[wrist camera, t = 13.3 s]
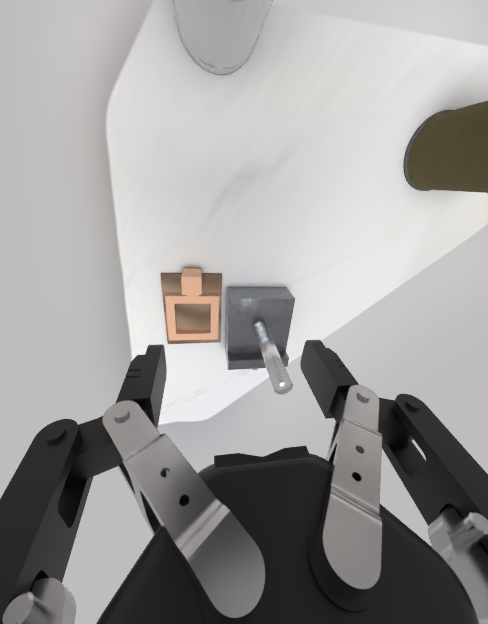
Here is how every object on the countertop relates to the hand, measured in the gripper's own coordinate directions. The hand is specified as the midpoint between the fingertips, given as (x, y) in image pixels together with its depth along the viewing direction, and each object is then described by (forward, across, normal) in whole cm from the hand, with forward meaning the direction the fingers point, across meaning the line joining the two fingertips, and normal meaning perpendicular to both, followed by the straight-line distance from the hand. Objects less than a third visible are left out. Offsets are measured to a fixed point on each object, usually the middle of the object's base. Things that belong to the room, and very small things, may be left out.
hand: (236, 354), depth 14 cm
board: (+29, +4, +13) cm, 32 cm away
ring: (+28, +4, +12) cm, 31 cm away
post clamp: (+29, -8, +16) cm, 34 cm away
